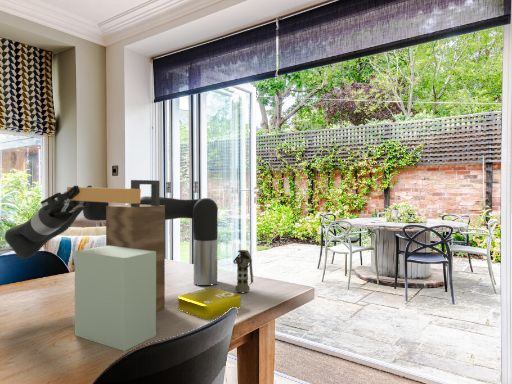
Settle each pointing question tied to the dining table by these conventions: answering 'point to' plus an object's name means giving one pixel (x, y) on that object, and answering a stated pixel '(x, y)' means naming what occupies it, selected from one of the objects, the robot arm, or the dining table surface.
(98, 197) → the bar
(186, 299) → the element tile
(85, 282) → the sage green upright block
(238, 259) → the olive stun grenade
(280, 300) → the dining table surface
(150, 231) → the walnut post
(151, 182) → the dark gray square arch
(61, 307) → the dining table surface
